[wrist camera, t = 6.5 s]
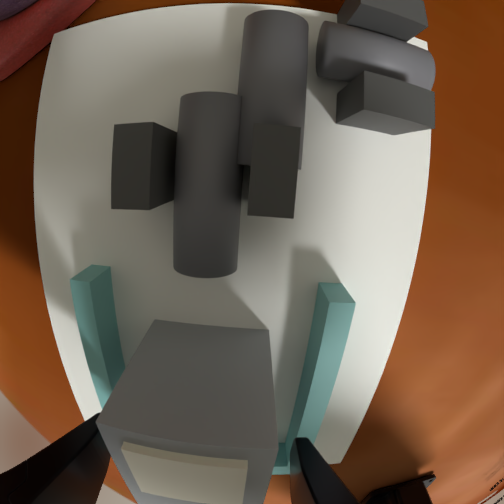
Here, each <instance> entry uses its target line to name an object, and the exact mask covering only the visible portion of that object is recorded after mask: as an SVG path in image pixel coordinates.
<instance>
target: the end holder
mask: <svg viewBox="0 0 504 504" xmlns="http://www.w3.org/2000/svg"><path fill="white" fill-rule="evenodd" d="M70 286H71V293H72V298H73V304H74V309H75V314H76V319H77V324H78V329H79V333H80V337H81V341H82V345H83V349H84V353H85V357H86V361H87V364H88V368H89V371H90V375H91V378H92V381H93V384H94V387H95V390H96V393H97V396H98V399H99V402H100V405H101V408H102V409H103V407H104V405H105V404H106V402H107V400H108V398H109V396H110V395H111V393H112V391H113V389H114V387H115V386H116V384H117V382H118V380H119V379H120V377H121V375H122V373H123V372H124V370H125V364H124V359H123V354H122V349H121V343H120V337H119V331H118V325H117V319H116V312H115V304H114V296H113V288H112V278H111V267H110V266H102V265H92V264H91V265H90V266H89V267H87V268H86V269H84V270H83V271H81V272H80V273H78V274H77V275H75V276H74V277H72V278H71V279H70ZM355 305H356V302H355V301H354V300H353V298H352V297H351V295H350V294H349V293H348V291H347V290H346V288H345V287H344V286H343V284H342V283H325V282H319V283H318V290H317V296H316V302H315V308H314V313H313V319H312V324H311V330H310V335H309V340H308V346H307V351H306V355H305V360H304V365H303V370H302V374H301V379H300V384H299V388H298V392H297V397H296V401H295V405H294V409H293V413H292V417H291V421H290V425H289V429H288V433H287V437H286V441H285V443H278V447H279V450H278V453H277V457H276V461H275V465H274V468H273V472H272V475H280V474H290V450H291V447H292V443H293V440H294V438H296V437H307V438H309V440H310V441H311V442H312V444H313V445H314V442H315V439H316V437H317V434H318V431H319V429H320V426H321V423H322V420H323V418H324V415H325V412H326V409H327V406H328V403H329V400H330V397H331V394H332V391H333V387H334V384H335V381H336V378H337V374H338V371H339V368H340V364H341V361H342V357H343V353H344V350H345V346H346V342H347V338H348V334H349V330H350V326H351V322H352V318H353V314H354V310H355Z"/></svg>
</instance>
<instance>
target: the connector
mask: <svg viewBox="0 0 504 504" xmlns="http://www.w3.org/2000/svg"><path fill="white" fill-rule="evenodd" d="M96 424H97V427H98V429H99V431H100V433H101V436H102V438H103V440H104V442H105V444H106V446H107V448H108V451H109V453H110V455H111V457H112V459H113V461H114V463H115V464H116V466H117V468H118V470H119V472H120V474H121V476H122V477H123V479H124V481H125V483H126V484H127V486H128V488H129V490H130V491H131V493H132V495H133V496H134V498H135V500H136V501H137V503H138V504H263V502H264V499H265V496H266V492H267V489H268V486H269V482H270V479H271V475H272V472H273V468H274V465H275V461H276V457H277V453H278V450H279V447H278V434H277V421H276V408H275V396H274V384H273V372H272V360H271V348H270V336H269V330H265V329H249V328H235V327H222V326H211V325H200V324H191V323H181V322H173V321H164V320H157V319H154V321H153V323H152V324H151V326H150V328H149V329H148V331H147V333H146V334H145V336H144V338H143V339H142V341H141V343H140V344H139V346H138V348H137V349H136V351H135V353H134V354H133V356H132V358H131V360H130V361H129V363H128V365H127V366H126V368H125V370H124V372H123V373H122V375H121V377H120V379H119V380H118V382H117V384H116V386H115V387H114V389H113V391H112V393H111V395H110V396H109V398H108V400H107V402H106V404H105V405H104V407H103V409H102V411H101V413H100V415H99V416H98V418H97V420H96Z"/></svg>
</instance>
